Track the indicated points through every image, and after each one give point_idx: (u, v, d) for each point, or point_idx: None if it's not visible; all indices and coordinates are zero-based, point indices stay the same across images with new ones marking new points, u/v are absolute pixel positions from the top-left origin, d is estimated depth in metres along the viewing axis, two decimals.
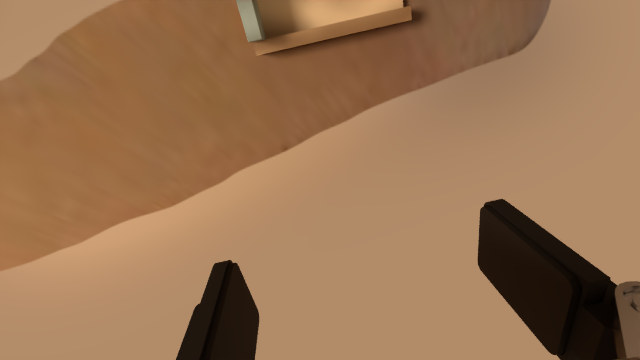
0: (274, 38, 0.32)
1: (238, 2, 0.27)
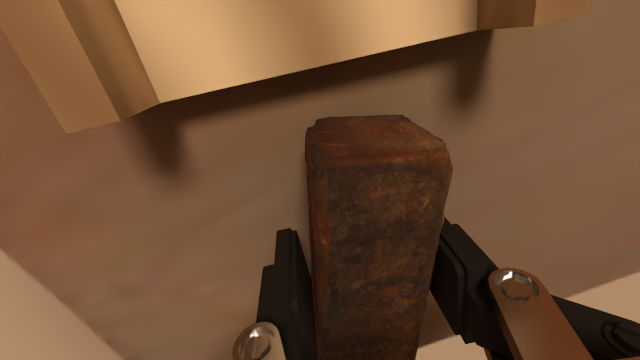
0: None
1: None
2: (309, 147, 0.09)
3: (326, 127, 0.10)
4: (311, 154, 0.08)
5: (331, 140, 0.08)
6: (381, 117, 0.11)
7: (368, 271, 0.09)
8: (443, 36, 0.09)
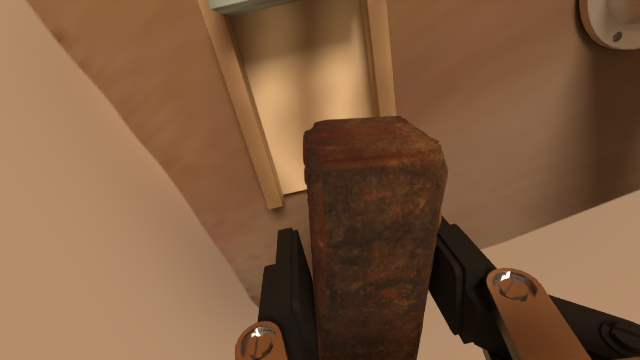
0: (226, 30, 0.21)
1: None
2: (306, 150, 0.09)
3: (323, 130, 0.10)
4: (307, 158, 0.08)
5: (327, 143, 0.08)
6: (378, 119, 0.11)
7: (366, 272, 0.09)
8: None
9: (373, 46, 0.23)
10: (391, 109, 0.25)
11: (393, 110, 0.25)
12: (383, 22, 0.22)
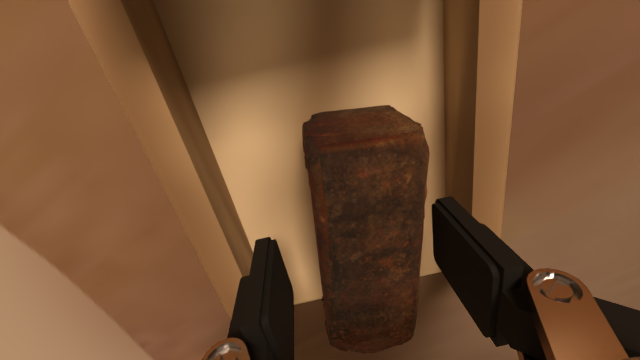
0: (121, 14, 0.08)
1: None
2: (305, 139, 0.10)
3: (320, 120, 0.11)
4: (306, 144, 0.09)
5: (323, 131, 0.10)
6: (369, 108, 0.12)
7: (363, 244, 0.10)
8: (428, 274, 0.17)
9: (479, 52, 0.10)
10: (497, 182, 0.12)
11: (501, 184, 0.12)
12: None
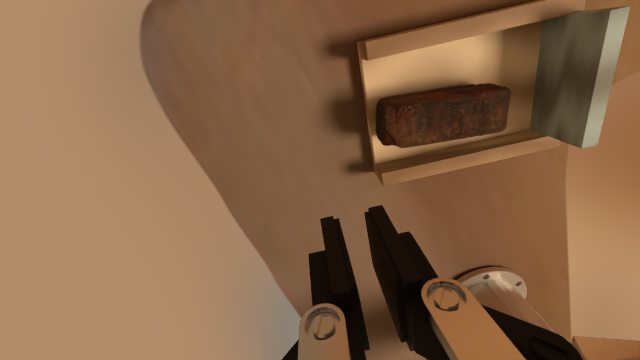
0: (554, 16, 0.23)
1: (616, 58, 0.22)
2: (497, 85, 0.25)
3: None
4: (506, 87, 0.24)
5: None
6: None
7: (468, 114, 0.24)
8: (374, 154, 0.30)
9: (503, 146, 0.28)
10: (451, 167, 0.29)
11: (450, 169, 0.29)
12: (518, 152, 0.29)
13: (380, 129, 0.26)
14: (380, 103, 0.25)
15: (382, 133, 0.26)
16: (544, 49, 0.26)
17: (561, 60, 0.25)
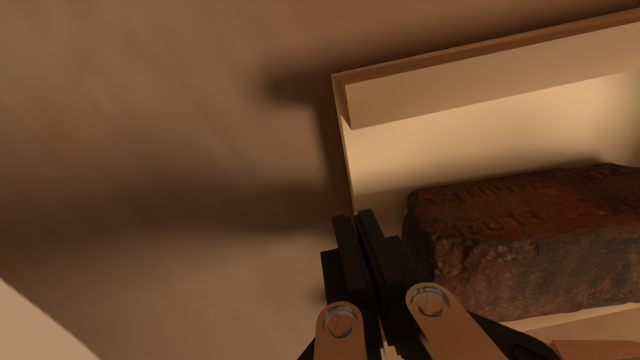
0: None
1: None
2: None
3: None
4: None
5: None
6: None
7: None
8: None
9: None
10: (525, 325, 0.14)
11: (522, 328, 0.14)
12: None
13: (414, 263, 0.12)
14: (418, 218, 0.11)
15: None
16: None
17: None
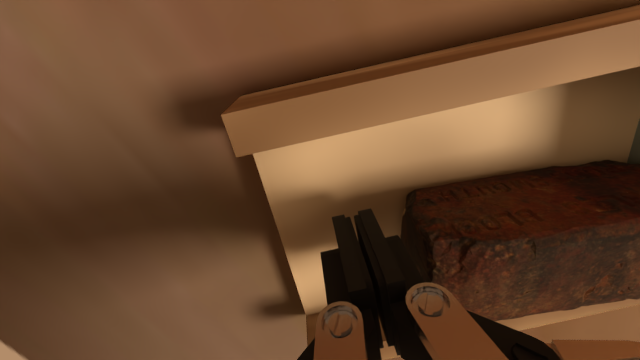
0: None
1: None
2: None
3: None
4: None
5: None
6: None
7: None
8: (302, 301, 0.15)
9: None
10: None
11: None
12: (586, 311, 0.14)
13: None
14: (417, 218, 0.11)
15: None
16: None
17: None
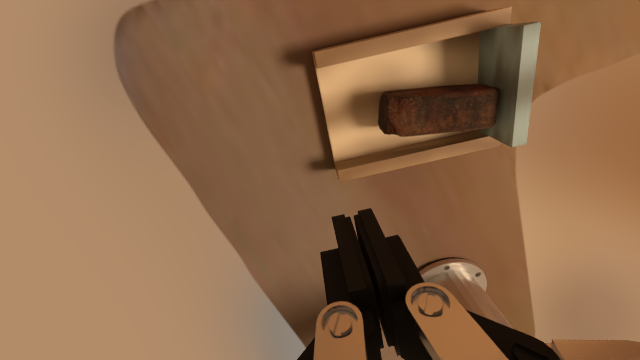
0: (483, 28, 0.26)
1: (534, 67, 0.24)
2: (489, 86, 0.28)
3: None
4: (496, 87, 0.27)
5: None
6: None
7: (462, 109, 0.27)
8: (333, 153, 0.33)
9: (448, 146, 0.31)
10: (401, 164, 0.31)
11: (400, 166, 0.31)
12: (462, 151, 0.31)
13: (382, 119, 0.29)
14: (384, 95, 0.28)
15: (384, 122, 0.29)
16: (481, 57, 0.29)
17: (494, 68, 0.28)
